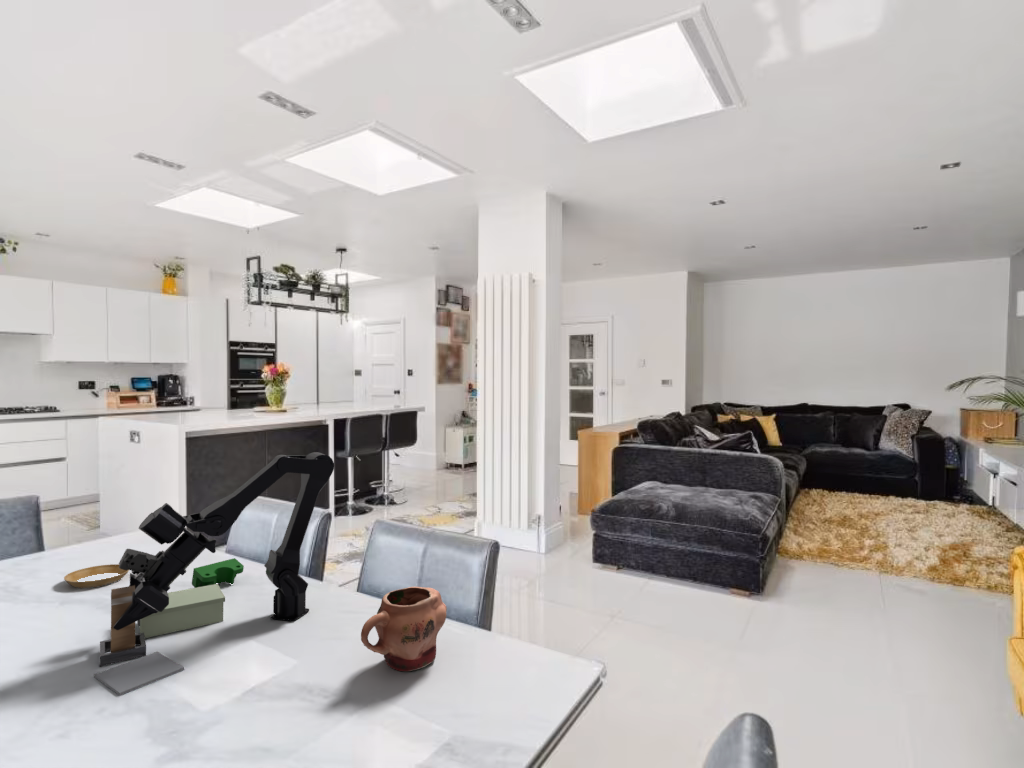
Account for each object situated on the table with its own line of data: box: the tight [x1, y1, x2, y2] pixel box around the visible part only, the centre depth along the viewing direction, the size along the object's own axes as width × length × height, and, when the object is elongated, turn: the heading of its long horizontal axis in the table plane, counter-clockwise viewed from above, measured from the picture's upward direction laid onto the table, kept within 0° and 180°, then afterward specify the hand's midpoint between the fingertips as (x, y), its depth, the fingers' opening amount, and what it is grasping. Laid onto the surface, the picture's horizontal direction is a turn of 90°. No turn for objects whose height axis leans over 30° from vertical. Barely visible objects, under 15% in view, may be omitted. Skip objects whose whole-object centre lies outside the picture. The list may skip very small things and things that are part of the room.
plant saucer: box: [63, 563, 130, 589], centre depth 155 cm, size 15×15×3 cm
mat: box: [93, 651, 185, 697], centre depth 107 cm, size 11×11×1 cm
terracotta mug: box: [360, 586, 447, 672], centre depth 112 cm, size 20×12×14 cm, turn 144°
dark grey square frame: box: [99, 632, 147, 667], centre depth 115 cm, size 8×8×2 cm
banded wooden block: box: [110, 585, 136, 652], centre depth 115 cm, size 4×4×13 cm
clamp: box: [191, 558, 245, 588], centre depth 153 cm, size 12×6×9 cm, turn 138°
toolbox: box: [136, 584, 226, 639], centre depth 130 cm, size 17×11×6 cm, turn 126°
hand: (114, 620), depth 114 cm, fingers open, 9 cm apart
